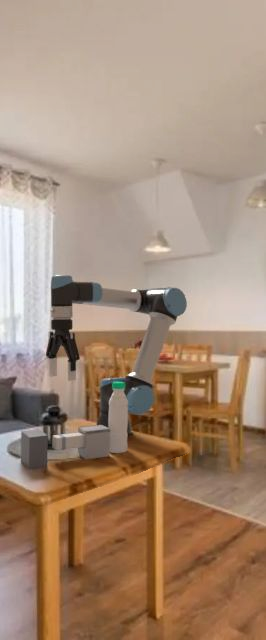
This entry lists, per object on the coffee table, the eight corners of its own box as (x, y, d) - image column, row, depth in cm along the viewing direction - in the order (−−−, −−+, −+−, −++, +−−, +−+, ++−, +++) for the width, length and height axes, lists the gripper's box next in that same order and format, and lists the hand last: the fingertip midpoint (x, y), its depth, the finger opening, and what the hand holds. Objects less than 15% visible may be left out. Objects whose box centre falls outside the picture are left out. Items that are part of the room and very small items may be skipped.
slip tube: (102, 441, 166) (103, 429, 166) (108, 443, 163) (108, 432, 163) (52, 447, 157) (52, 435, 157) (56, 450, 153) (56, 438, 153)
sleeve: (101, 450, 168) (101, 424, 168) (109, 456, 162) (110, 428, 162) (77, 454, 163) (78, 427, 163) (85, 459, 157) (86, 431, 157)
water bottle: (124, 454, 164) (126, 383, 164) (105, 453, 165) (106, 382, 165) (129, 449, 171) (130, 381, 171) (110, 447, 172) (111, 380, 172)
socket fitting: (38, 458, 157) (38, 429, 157) (47, 466, 149) (47, 435, 149) (20, 461, 154) (21, 431, 154) (28, 469, 146) (29, 437, 146)
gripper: (36, 318, 173) (36, 375, 173) (70, 319, 153) (70, 383, 154) (54, 318, 177) (54, 373, 178) (89, 319, 158) (89, 381, 158)
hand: (62, 378), depth 166 cm, fingers open, 13 cm apart
